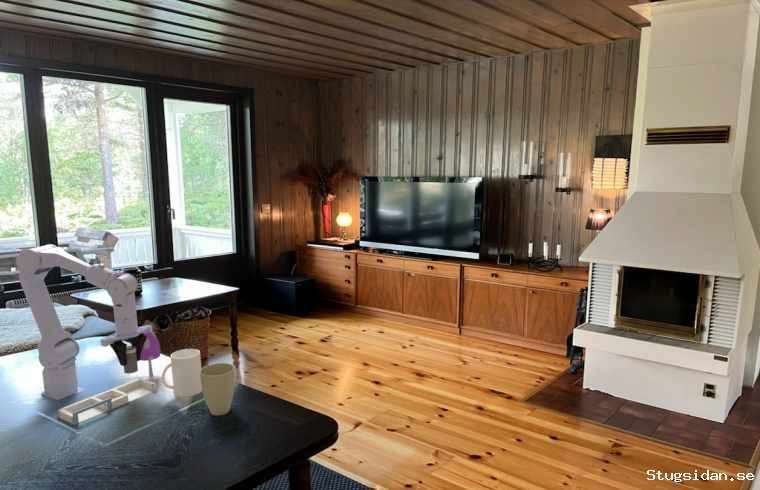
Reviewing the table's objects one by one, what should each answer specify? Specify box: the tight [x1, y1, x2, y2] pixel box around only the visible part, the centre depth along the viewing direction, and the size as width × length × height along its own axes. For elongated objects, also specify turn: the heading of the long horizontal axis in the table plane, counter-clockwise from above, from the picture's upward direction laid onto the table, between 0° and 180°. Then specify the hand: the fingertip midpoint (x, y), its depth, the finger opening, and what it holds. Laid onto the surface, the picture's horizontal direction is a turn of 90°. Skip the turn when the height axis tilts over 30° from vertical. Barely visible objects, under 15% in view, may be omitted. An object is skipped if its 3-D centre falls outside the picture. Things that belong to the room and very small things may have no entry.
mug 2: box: [200, 362, 236, 416], centre depth 143 cm, size 11×10×12 cm
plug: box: [123, 345, 139, 375], centre depth 152 cm, size 4×4×7 cm
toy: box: [140, 332, 161, 376], centre depth 166 cm, size 7×7×15 cm
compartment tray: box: [56, 377, 158, 426], centre depth 147 cm, size 8×24×4 cm, turn 147°
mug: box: [161, 348, 203, 398], centre depth 153 cm, size 12×8×12 cm
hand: (130, 362), depth 152 cm, fingers closed on plug, 4 cm apart
